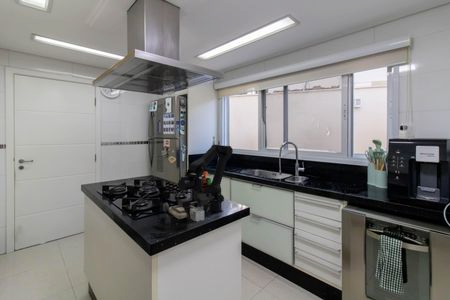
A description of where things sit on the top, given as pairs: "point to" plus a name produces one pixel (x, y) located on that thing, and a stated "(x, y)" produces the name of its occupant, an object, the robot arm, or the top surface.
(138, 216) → the top surface
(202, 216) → the block
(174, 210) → the chassis
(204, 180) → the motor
